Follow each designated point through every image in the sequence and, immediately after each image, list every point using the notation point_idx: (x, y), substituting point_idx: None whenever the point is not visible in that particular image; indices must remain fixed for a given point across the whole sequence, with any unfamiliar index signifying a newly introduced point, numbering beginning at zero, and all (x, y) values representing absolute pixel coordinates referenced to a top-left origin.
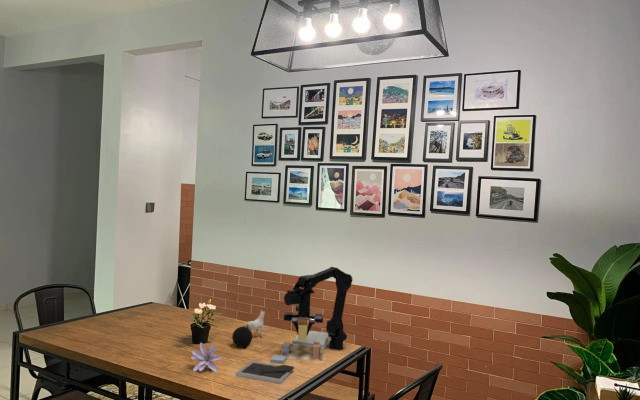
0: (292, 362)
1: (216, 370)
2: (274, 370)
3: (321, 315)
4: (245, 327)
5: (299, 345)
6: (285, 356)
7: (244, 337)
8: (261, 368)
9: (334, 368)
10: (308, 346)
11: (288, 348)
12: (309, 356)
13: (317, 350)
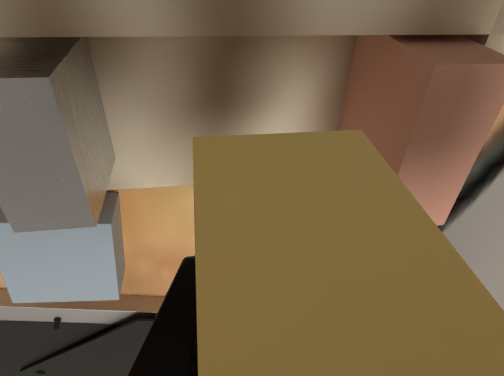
0: (170, 193)
1: None
2: (109, 368)
3: None
4: None
5: (203, 34)
6: (104, 232)
7: None
8: (20, 359)
9: (447, 218)
10: (332, 33)
11: (96, 212)
12: (313, 103)
13: None
